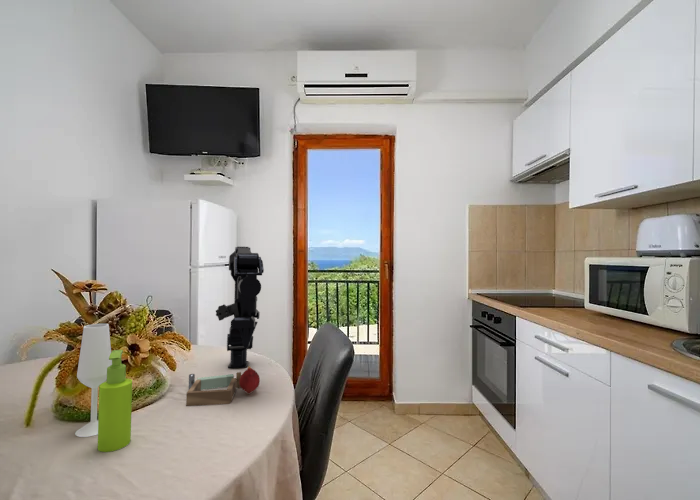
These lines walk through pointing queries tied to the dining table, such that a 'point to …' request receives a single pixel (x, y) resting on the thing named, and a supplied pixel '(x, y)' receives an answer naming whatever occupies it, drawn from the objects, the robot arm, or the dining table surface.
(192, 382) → the pin
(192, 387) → the brown u-shaped frame
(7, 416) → the dining table surface
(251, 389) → the pomegranate
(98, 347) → the champagne flute
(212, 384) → the leg bar
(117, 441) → the soap dispenser
